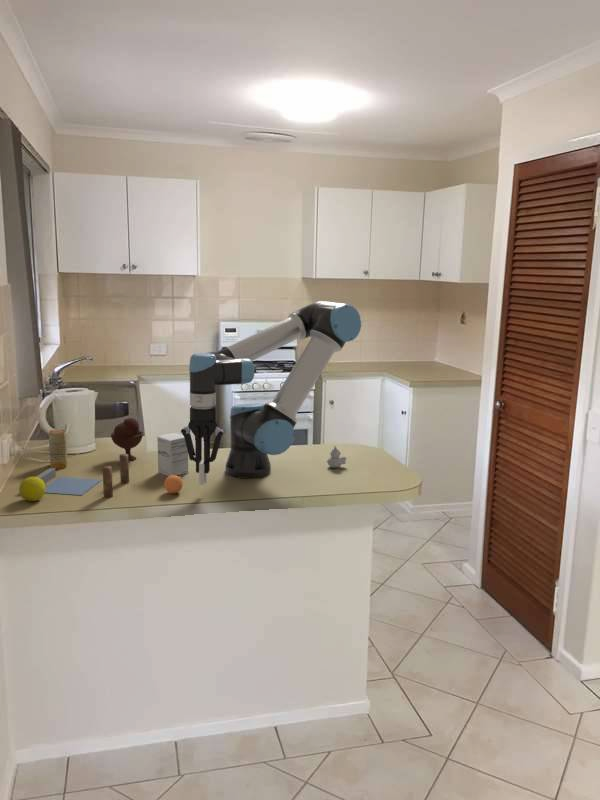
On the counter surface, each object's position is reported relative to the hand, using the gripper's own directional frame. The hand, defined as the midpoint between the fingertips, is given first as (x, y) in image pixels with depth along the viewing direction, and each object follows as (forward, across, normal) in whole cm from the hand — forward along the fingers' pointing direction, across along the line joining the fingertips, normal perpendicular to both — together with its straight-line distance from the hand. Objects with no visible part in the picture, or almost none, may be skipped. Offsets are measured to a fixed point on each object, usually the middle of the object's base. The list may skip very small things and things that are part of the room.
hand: (202, 483), depth 196 cm
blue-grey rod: (+4, -52, 0) cm, 52 cm away
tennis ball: (+5, -47, -13) cm, 49 cm away
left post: (+4, -27, -6) cm, 28 cm away
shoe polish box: (+5, -55, +18) cm, 58 cm away
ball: (+1, -9, 0) cm, 9 cm away
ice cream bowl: (+4, -35, +29) cm, 46 cm away
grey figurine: (+3, +38, +34) cm, 51 cm away
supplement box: (+4, -15, +18) cm, 24 cm away
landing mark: (+4, -42, 0) cm, 42 cm away
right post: (+4, -27, +7) cm, 28 cm away
